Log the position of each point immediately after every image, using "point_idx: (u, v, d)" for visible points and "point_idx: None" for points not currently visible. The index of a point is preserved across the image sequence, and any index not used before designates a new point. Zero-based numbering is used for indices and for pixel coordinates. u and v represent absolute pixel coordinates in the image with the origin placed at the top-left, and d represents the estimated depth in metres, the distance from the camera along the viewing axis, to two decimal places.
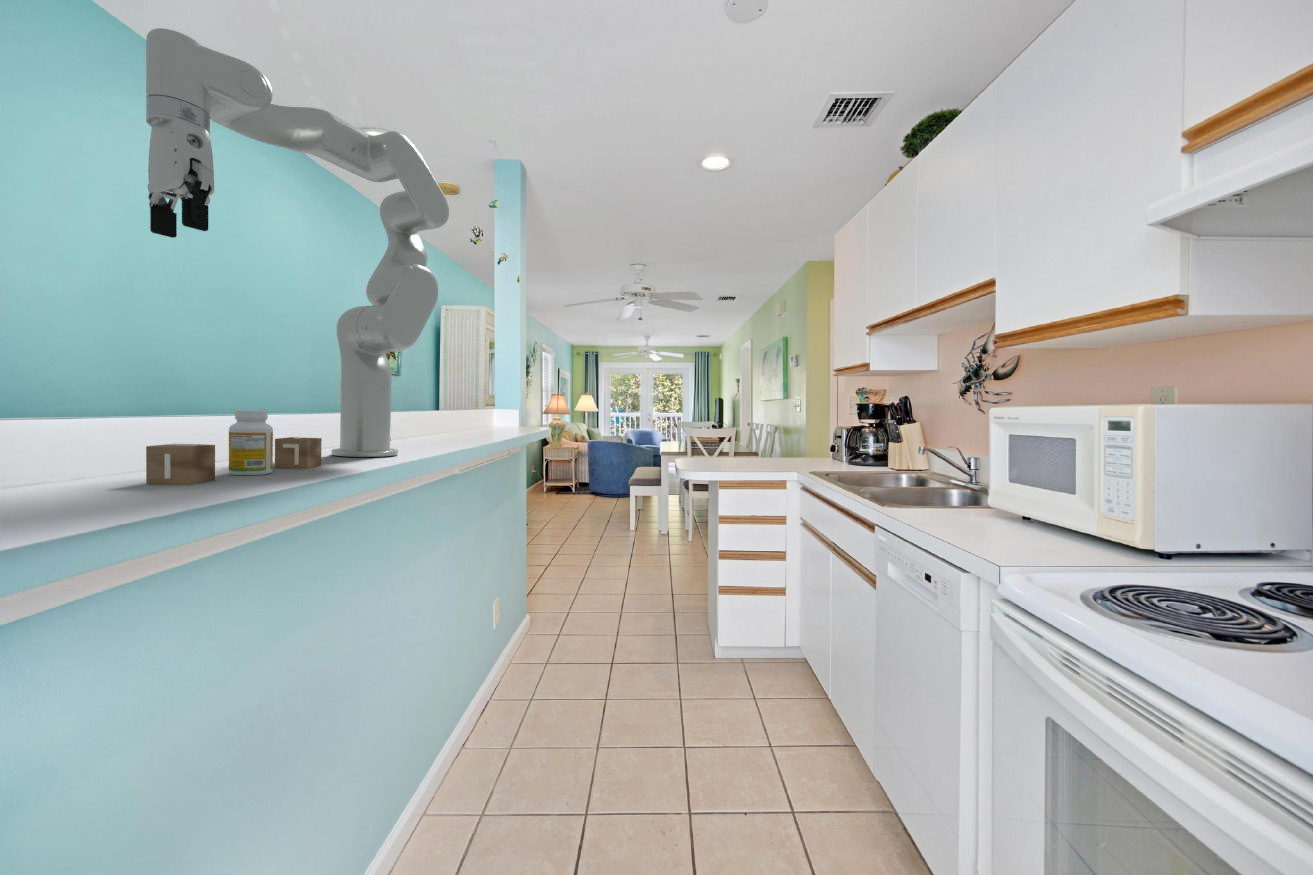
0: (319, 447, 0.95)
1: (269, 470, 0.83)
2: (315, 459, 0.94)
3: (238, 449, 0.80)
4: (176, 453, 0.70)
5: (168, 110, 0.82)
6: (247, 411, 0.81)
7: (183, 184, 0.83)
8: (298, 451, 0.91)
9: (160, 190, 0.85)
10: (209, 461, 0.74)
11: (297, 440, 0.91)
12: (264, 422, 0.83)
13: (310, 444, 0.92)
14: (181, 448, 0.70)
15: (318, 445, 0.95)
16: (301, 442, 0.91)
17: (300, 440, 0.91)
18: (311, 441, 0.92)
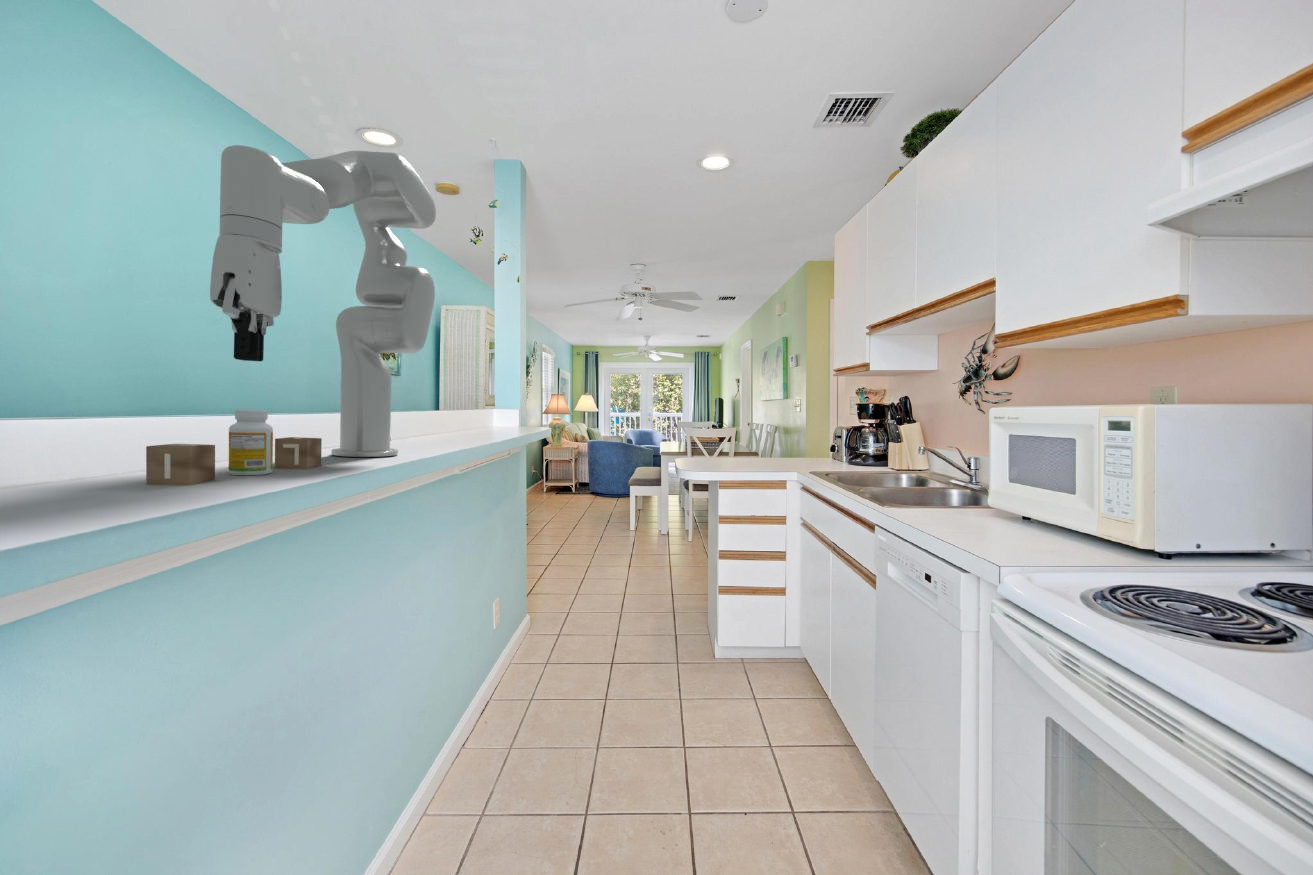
0: (319, 447, 0.95)
1: (269, 470, 0.83)
2: (315, 459, 0.94)
3: (238, 449, 0.80)
4: (176, 453, 0.70)
5: None
6: (247, 411, 0.81)
7: (266, 320, 0.83)
8: (298, 451, 0.91)
9: (256, 310, 0.80)
10: (209, 461, 0.74)
11: (297, 440, 0.91)
12: (264, 422, 0.83)
13: (310, 444, 0.92)
14: (181, 448, 0.70)
15: (318, 445, 0.95)
16: (301, 442, 0.91)
17: (300, 440, 0.91)
18: (311, 441, 0.92)
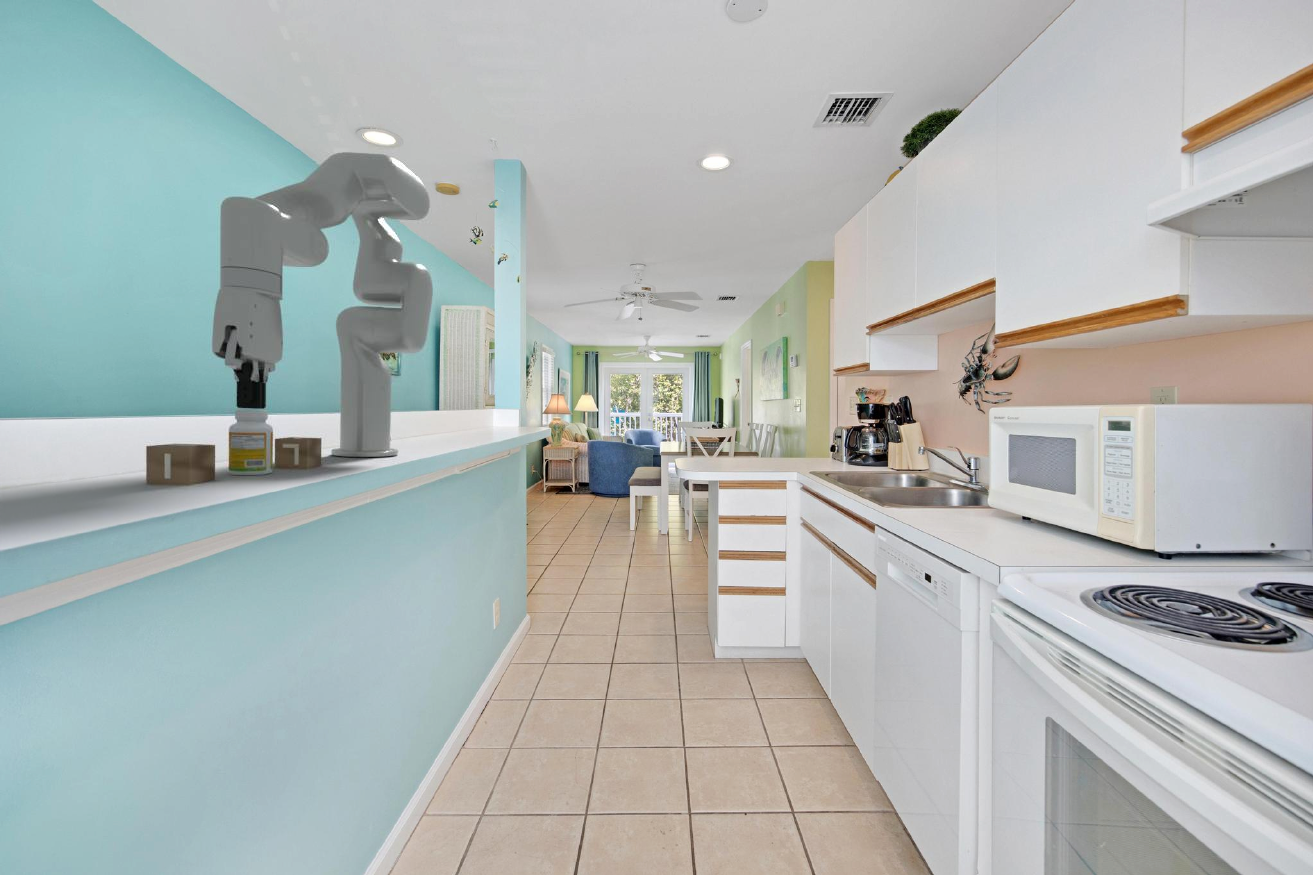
0: (319, 447, 0.95)
1: (269, 470, 0.83)
2: (315, 459, 0.94)
3: (238, 449, 0.80)
4: (176, 453, 0.70)
5: None
6: (247, 411, 0.81)
7: (267, 367, 0.84)
8: (298, 451, 0.91)
9: (257, 360, 0.81)
10: (209, 461, 0.74)
11: (297, 440, 0.91)
12: (264, 422, 0.83)
13: (310, 444, 0.92)
14: (181, 448, 0.70)
15: (318, 445, 0.95)
16: (301, 442, 0.91)
17: (300, 440, 0.91)
18: (311, 441, 0.92)
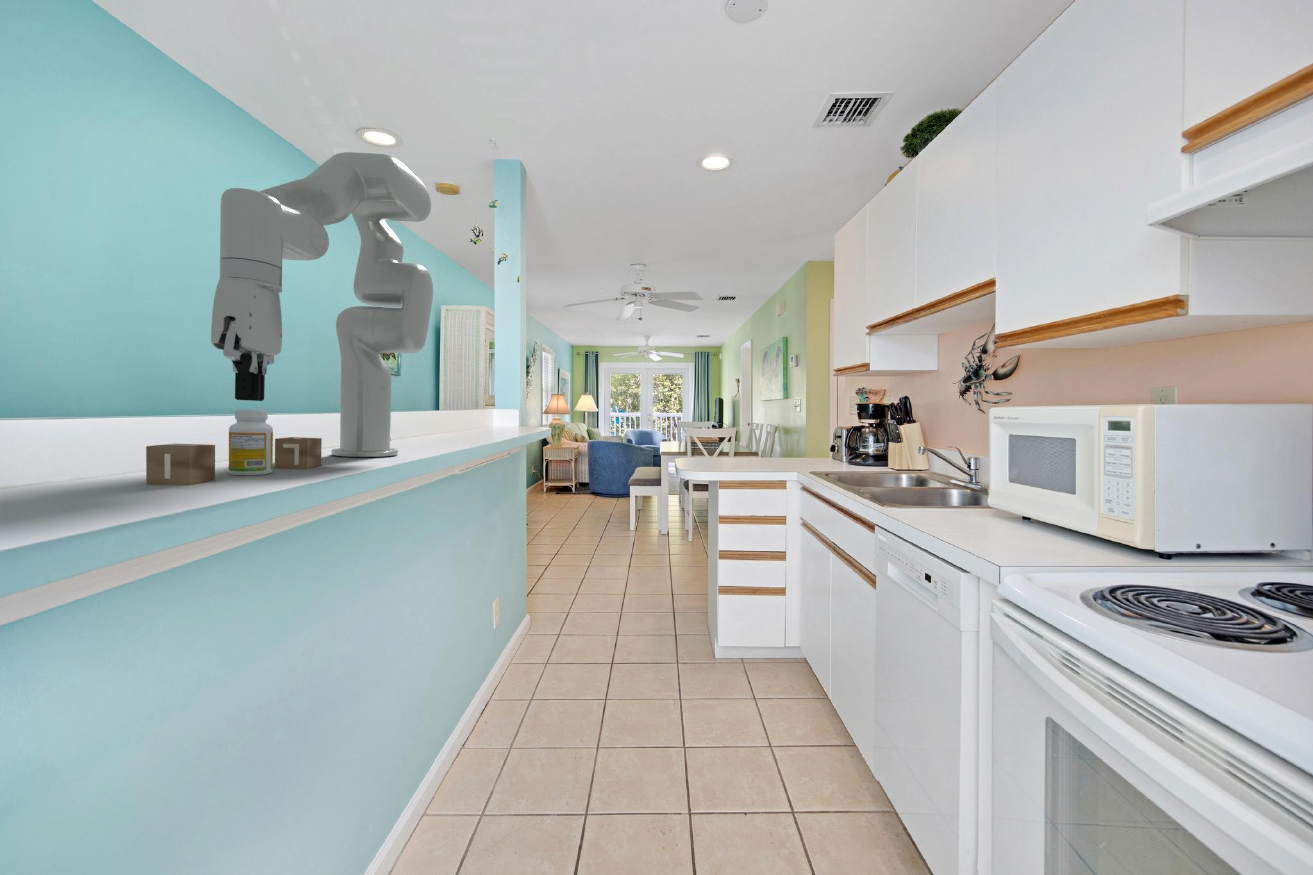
0: (319, 447, 0.95)
1: (269, 470, 0.83)
2: (315, 459, 0.94)
3: (238, 449, 0.80)
4: (176, 453, 0.70)
5: None
6: (247, 411, 0.81)
7: (266, 359, 0.84)
8: (298, 451, 0.91)
9: (256, 351, 0.81)
10: (209, 461, 0.74)
11: (297, 440, 0.91)
12: (264, 422, 0.83)
13: (310, 444, 0.92)
14: (181, 448, 0.70)
15: (318, 445, 0.95)
16: (301, 442, 0.91)
17: (300, 440, 0.91)
18: (311, 441, 0.92)
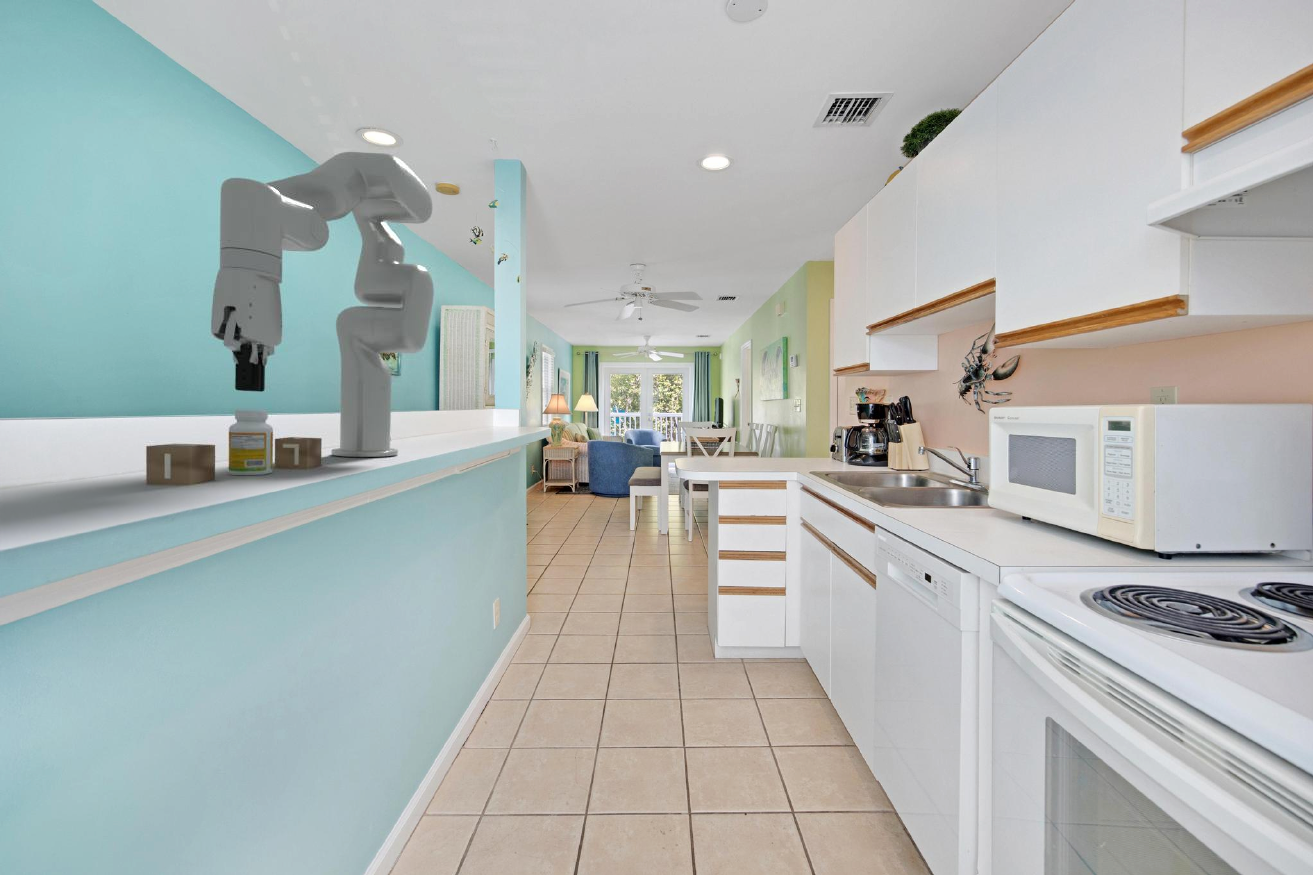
0: (319, 447, 0.95)
1: (269, 470, 0.83)
2: (315, 459, 0.94)
3: (238, 449, 0.80)
4: (177, 453, 0.70)
5: None
6: (247, 411, 0.81)
7: (267, 350, 0.84)
8: (298, 451, 0.91)
9: (256, 341, 0.81)
10: (209, 461, 0.74)
11: (297, 440, 0.91)
12: (264, 422, 0.83)
13: (310, 444, 0.92)
14: (181, 448, 0.70)
15: (318, 445, 0.95)
16: (301, 442, 0.91)
17: (300, 440, 0.91)
18: (311, 441, 0.92)
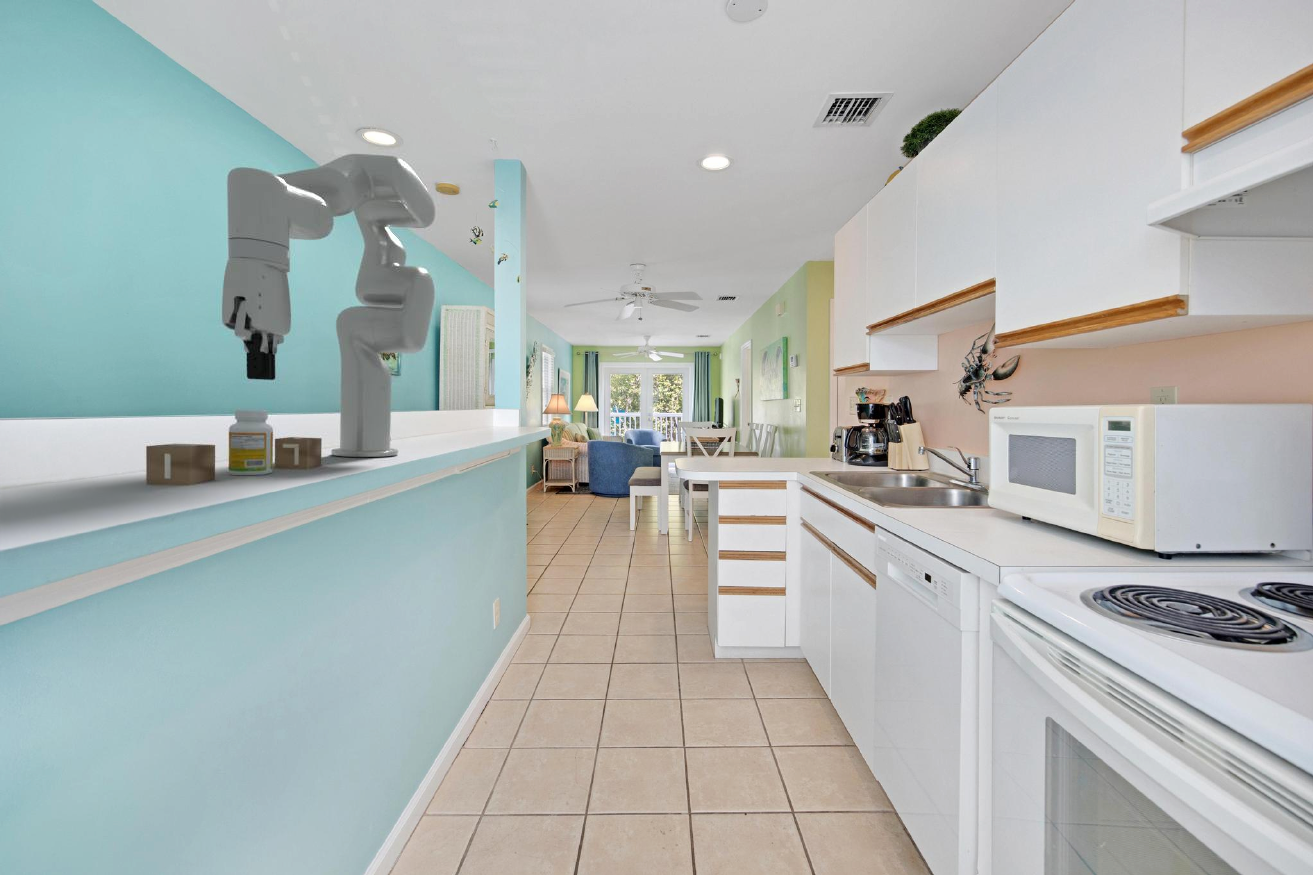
0: (319, 447, 0.95)
1: (269, 470, 0.83)
2: (315, 459, 0.94)
3: (238, 449, 0.80)
4: (177, 453, 0.70)
5: None
6: (247, 411, 0.81)
7: (276, 339, 0.85)
8: (298, 451, 0.91)
9: (266, 331, 0.82)
10: (209, 461, 0.74)
11: (297, 440, 0.91)
12: (264, 422, 0.83)
13: (310, 444, 0.92)
14: (181, 448, 0.70)
15: (318, 445, 0.95)
16: (301, 442, 0.91)
17: (300, 440, 0.91)
18: (311, 441, 0.92)
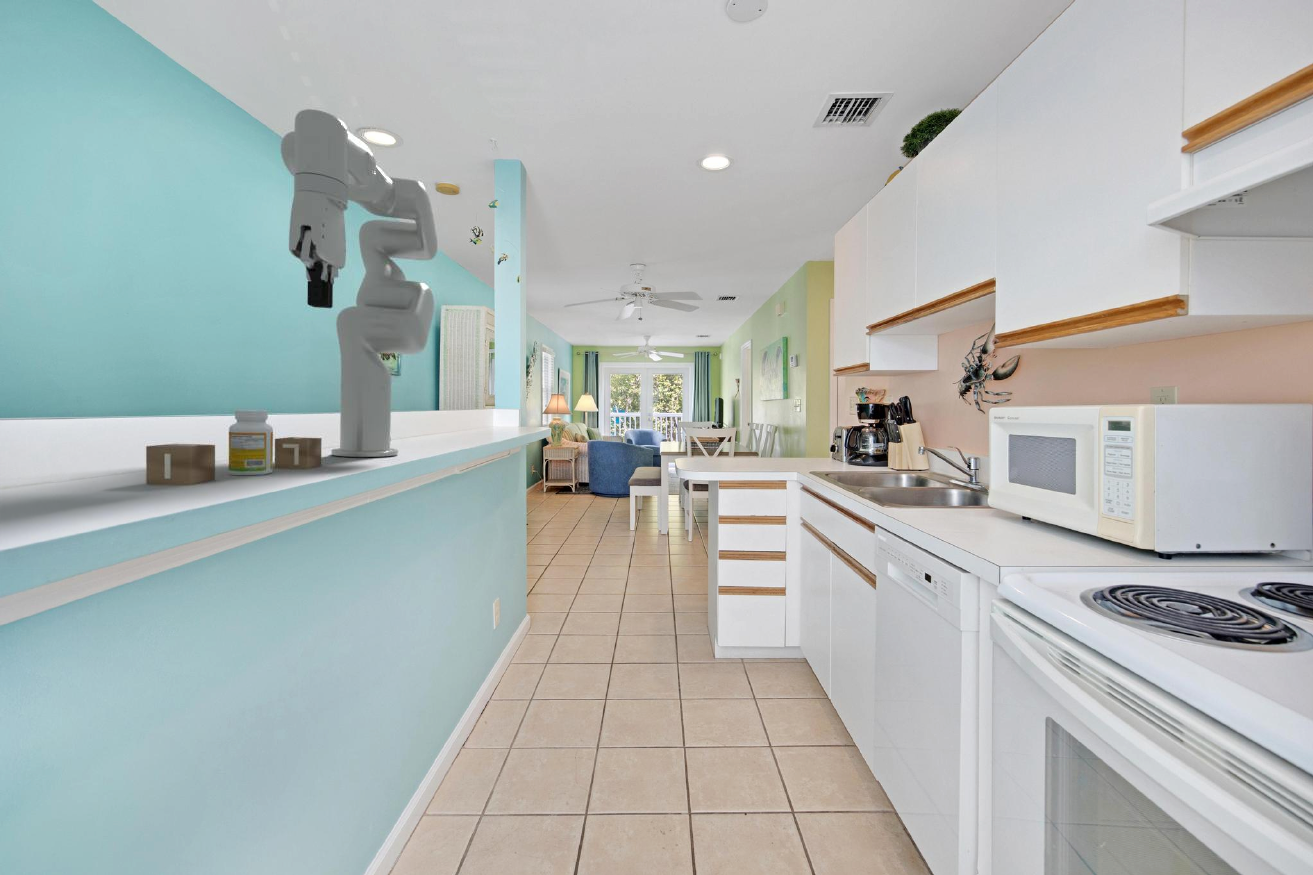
0: (319, 447, 0.95)
1: (269, 470, 0.83)
2: (315, 459, 0.94)
3: (238, 449, 0.80)
4: (177, 453, 0.70)
5: None
6: (247, 411, 0.81)
7: (334, 271, 0.92)
8: (298, 451, 0.91)
9: (327, 260, 0.89)
10: (209, 461, 0.74)
11: (297, 440, 0.91)
12: (264, 422, 0.83)
13: (310, 444, 0.92)
14: (181, 448, 0.70)
15: (318, 445, 0.95)
16: (301, 442, 0.91)
17: (300, 440, 0.91)
18: (311, 441, 0.92)
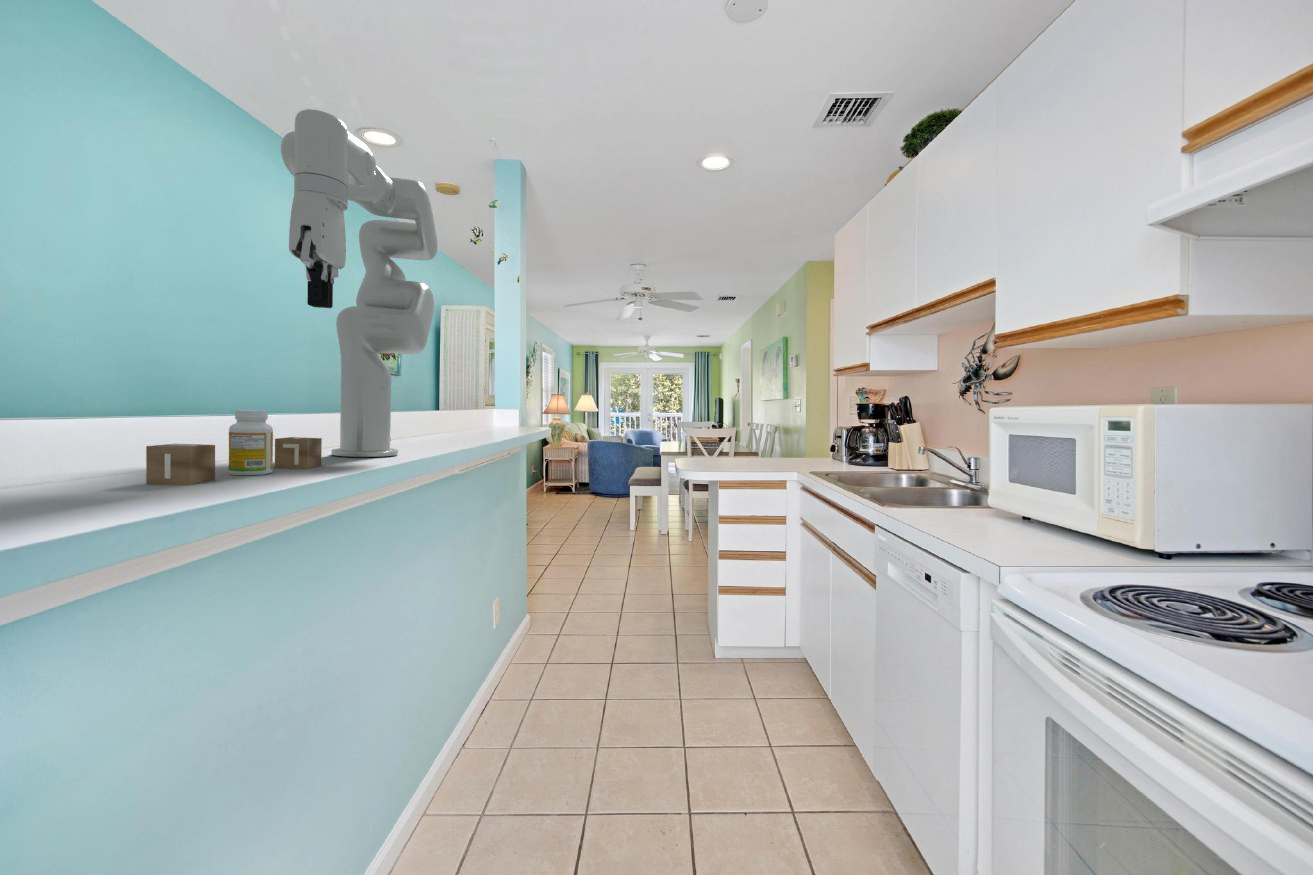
0: (319, 447, 0.95)
1: (269, 470, 0.83)
2: (315, 459, 0.94)
3: (238, 449, 0.80)
4: (177, 453, 0.70)
5: None
6: (247, 411, 0.81)
7: (334, 271, 0.92)
8: (298, 451, 0.91)
9: (327, 260, 0.89)
10: (209, 461, 0.74)
11: (297, 440, 0.91)
12: (264, 422, 0.83)
13: (310, 444, 0.92)
14: (181, 448, 0.70)
15: (318, 445, 0.95)
16: (301, 442, 0.91)
17: (300, 440, 0.91)
18: (311, 441, 0.92)
